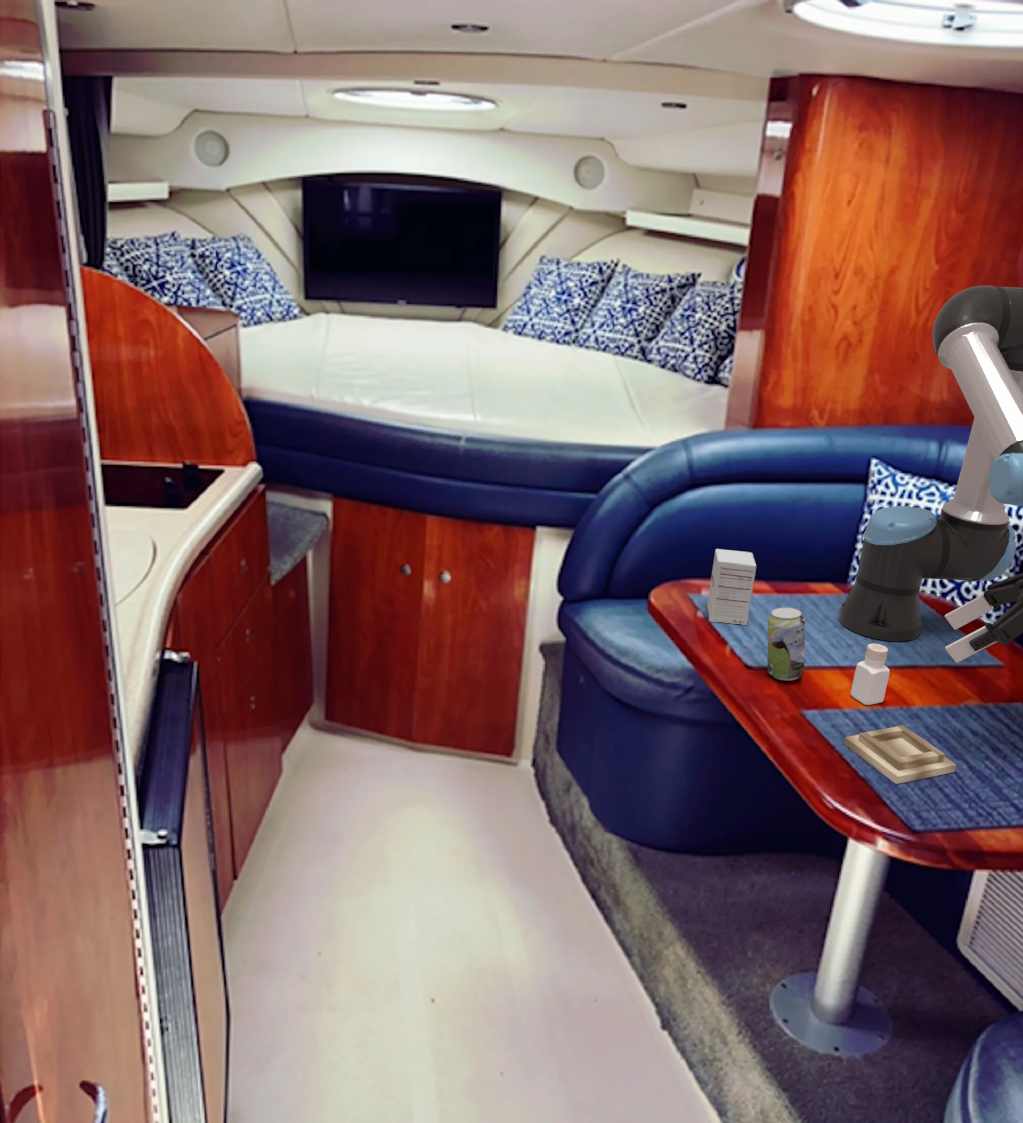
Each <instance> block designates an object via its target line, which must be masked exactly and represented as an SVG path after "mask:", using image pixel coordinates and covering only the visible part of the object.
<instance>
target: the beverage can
mask: <svg viewBox="0 0 1023 1123" xmlns="http://www.w3.org/2000/svg"><path fill="white" fill-rule="evenodd" d="M805 635H806V620H805V618H804V616H803V614H802V611H801V610H800V609H798V608H794V607H778V608H775V609H773V610H771V613H770V615H769V617H768V618H767V673H768V674H769V675H770V676H773V678H775V679H776V680H780V681H785V682H786V681H794V680H798V679H799V678H800V677H802V676H803V675H804V674H805V660H806V659H805V653H806V652H805V650H806V645H805V643H806V642H805V641H806V638H805V637H806V636H805Z"/></svg>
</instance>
